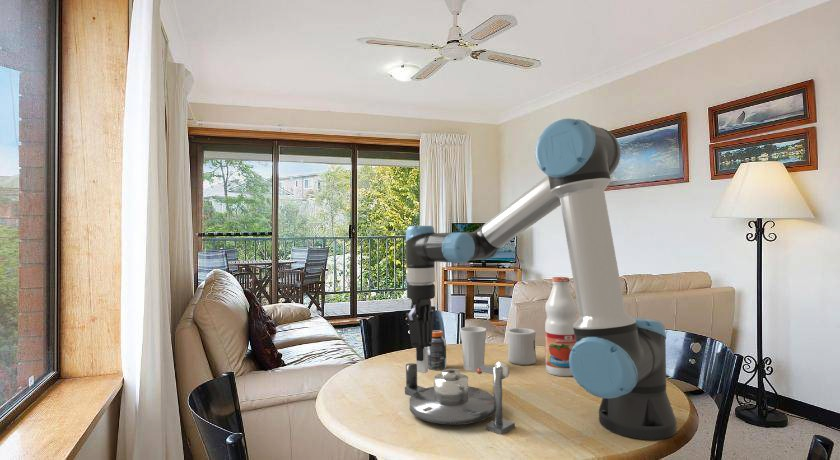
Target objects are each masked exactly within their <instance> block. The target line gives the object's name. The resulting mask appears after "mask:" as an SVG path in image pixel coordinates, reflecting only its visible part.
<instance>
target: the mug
mask: <svg viewBox="0 0 840 460" xmlns="http://www.w3.org/2000/svg"><path fill="white" fill-rule="evenodd" d="M536 333H537V331H536V330H535V329H532V328H526V327H513V328H509V329H508V330H507V336H508V337H507V338H508V351H507V352H508V353H507V361H508V362H509V363H511V364H513V365H517V366H518V365H519V366H529V365H534V364H536V362H537V352H536V335H537V334H536Z"/></svg>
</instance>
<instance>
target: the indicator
mask: <svg viewBox="0 0 840 460" xmlns="http://www.w3.org/2000/svg"><path fill="white" fill-rule="evenodd" d="M476 373H477V374H479V375H480V374H482V373H485V374H490V375H493V376H492V377H493V396H494V414H493V420H492V421H490V422H487V423H486V424H485V430H487V431H488V432H489V431H490V432H492V433H495V434H497V435H498V434H499V435H500V436H502V435H504V434H506V433H507V432H509V431H511V430H513V429H514V428H515V427H516V422H514V421H512V420H511V421H510V420H508V419H504V417H503V380H504V379H507V378H508V377H509V374H510V368H509V366H508V365H507V363H506V362H504V361H498V362H495V363H494V364H493V366H491V365H486V364H484V365H482V366H481V368H478V369H477V371H476Z"/></svg>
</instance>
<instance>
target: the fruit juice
mask: <svg viewBox="0 0 840 460" xmlns="http://www.w3.org/2000/svg"><path fill="white" fill-rule="evenodd" d="M551 283H552V287H551V288H552V289H550V294H549V296H548V299H547V300H546V301H545V304H544V305H545V306H544V310H545V314H546V319H545V322H544V343H545V348H544V350H545V371H546V372H547V373H548V374H550V375H553V376H556V377H557V376H558V377H573V375H572V373H571V370H570V366H569V355H570V352H571V350H572V348H573V346H574V345H575V343H576V342H575V336H574V329H573V325H574V323H575V322H576V321H577V318H576V317H577V313H578V305H577V301H575V298H574V297H573V295H572V292H571V289H570V287H569V286H570V285H569V284H570V278H569V277H567V276H553V277H552V278H551Z"/></svg>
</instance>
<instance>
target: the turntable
mask: <svg viewBox="0 0 840 460" xmlns="http://www.w3.org/2000/svg"><path fill="white" fill-rule="evenodd" d="M405 381H406V382H405V384H406V385H405V386H404V395H405V396H408V397H409V411H410V412H411V414H412V415H413V416H414V417H417V419H420V420H423V421H426V422H430V423H434V424H441V425H467V424H473V423H477V422H482V421H483V420H487V419H488V418H490V417H492V416H494V394H492V393H490V392H488V391H486V390H484V389H481V388H479V387H473V386H469V385H468V402H466V403H464V404H461V405H455V406H449V405H442V404H439V403H437V402H435V400H434V386H430V387H423V386H420V385H418V372H417V364H416V363H414V362H413V363H412V362H411V363H407V364H405Z"/></svg>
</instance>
